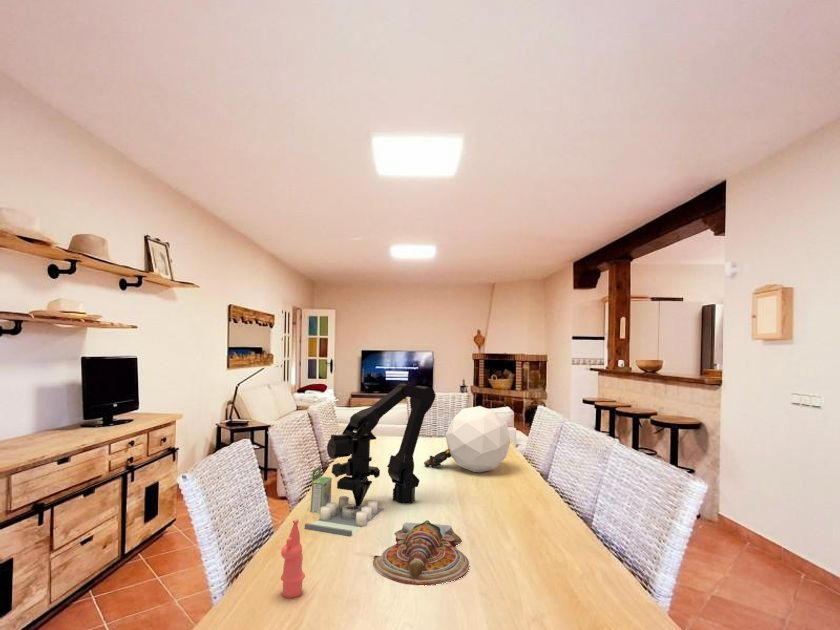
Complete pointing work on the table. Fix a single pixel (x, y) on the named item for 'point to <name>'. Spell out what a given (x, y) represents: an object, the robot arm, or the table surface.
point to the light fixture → (475, 440)
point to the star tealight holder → (349, 511)
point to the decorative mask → (423, 556)
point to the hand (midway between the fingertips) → (358, 505)
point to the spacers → (331, 508)
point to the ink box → (320, 491)
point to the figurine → (292, 564)
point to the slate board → (339, 523)
